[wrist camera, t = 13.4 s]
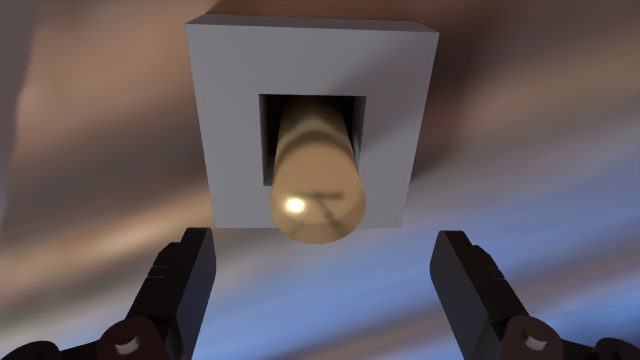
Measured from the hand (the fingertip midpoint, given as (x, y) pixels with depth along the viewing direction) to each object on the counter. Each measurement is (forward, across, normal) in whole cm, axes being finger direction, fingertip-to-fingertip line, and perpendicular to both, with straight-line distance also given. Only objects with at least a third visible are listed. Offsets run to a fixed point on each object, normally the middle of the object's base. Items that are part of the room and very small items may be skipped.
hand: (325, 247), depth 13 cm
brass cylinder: (+12, 0, 0) cm, 12 cm away
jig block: (+12, 0, 0) cm, 12 cm away
